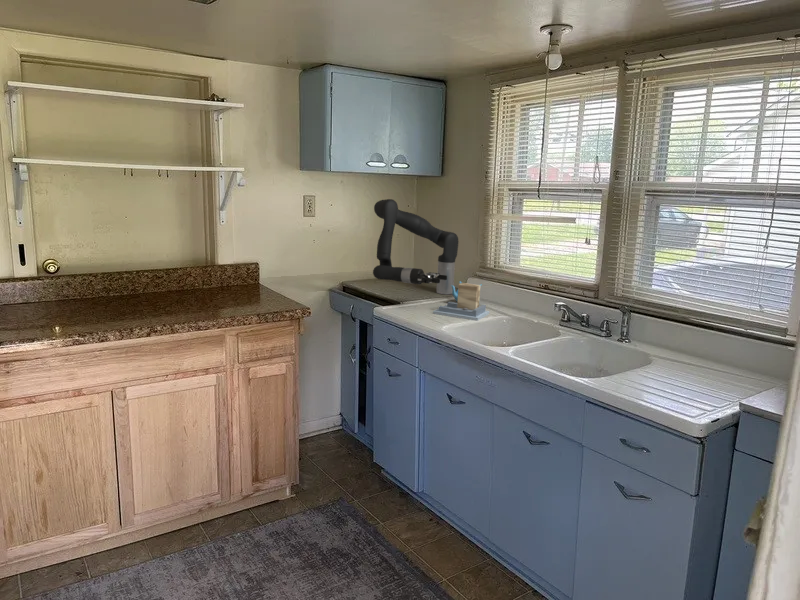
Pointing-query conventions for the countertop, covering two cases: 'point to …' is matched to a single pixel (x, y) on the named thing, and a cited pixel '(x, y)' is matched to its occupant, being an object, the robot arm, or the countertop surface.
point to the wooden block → (468, 296)
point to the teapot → (456, 292)
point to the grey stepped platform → (462, 311)
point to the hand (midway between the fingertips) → (443, 279)
